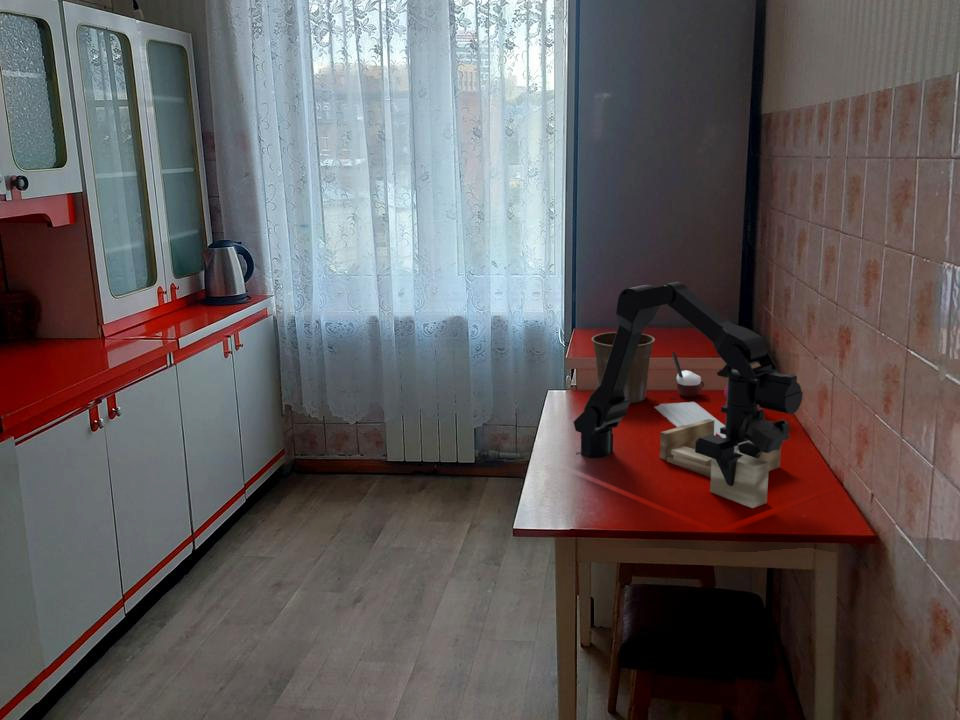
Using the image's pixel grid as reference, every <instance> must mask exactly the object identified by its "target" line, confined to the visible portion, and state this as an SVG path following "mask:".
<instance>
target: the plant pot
mask: <svg viewBox="0 0 960 720" xmlns="http://www.w3.org/2000/svg"><path fill="white" fill-rule="evenodd" d="M616 333H617V331H610V332H604V333H603V332H602V333H599V334H596V335H594V336H592V337H591V342H592V343H593V350H594V351H593V352H594V355H595V359H596V371H597V381H598V382H597V383H598V387H599V386H600V384H601V381H602V378H603V375H604V371H605V368H606V365H607V362H608V359H609V355H610V352H611V349H612V346H613V343H614V339H615V336H616ZM655 340H656V339H655V337H653V336H652V335H650V334H646V333H642V334H641V337H640V340H639V343H638V346H637V349H636V353H635V356H634V359H633V362H632V365H631V368H630V371H629V374H628V377H627V380H626V383H625V386H624V390H623V391H624V394H625V398H626V399H628V400H630V404H634V403H640V402H642V401H644V400H645V399H646V397H647V386H648V377H649V369H650V362H651V361H650V360H651V356H652V355H653V354H652V353H653V352H652V351H653V345H654V343H655Z"/></svg>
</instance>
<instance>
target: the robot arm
mask: <svg viewBox="0 0 960 720" xmlns="http://www.w3.org/2000/svg"><path fill="white" fill-rule="evenodd" d="M664 305H666V306H668V307H669V308H670V309H672V310H673V311H674V312H676V314H678V315H679V316H680V317H682V318H683V319H684V320H686V321H687V322H688V323H689V324H690V325H691V326H692V327H694V328H695V329H696V330H698V331H699V332H700V333H701V334H702V335H704V336H705V337H706V338H707V339H708V340H709V341H710V342H711V343H712V344H713V345H714V349H715V351H716V354H717V355H718V356H719V357H720V358H721V359H722V360H723V362H724V363H725V366H724V367H722V369H720V370H719V371H717V372H716V375H717V376H718V377H722V378H727V382H726V384H727V398H726V401H725V405H722V406H721V408H720V413H723V414H725V422H724V423H725V424H724V425H725V427H722V428H720V433H721V434H724V435H726V438H722V437H721V436H720V435H719V436H718V435H717V434H716V435H713V434H711V435H708V436H704V437H701V438H699V439H697V440H696V441H695V452H696V453H699V454H702V455H705V456H707V457H710V458H713V459H715V460H716V461H717V463H718V465H719V467H720V470H721V472H722V474H723V476H724V478H725V481H726V483H727V485H729V486H733V483H734V479H735V470H736V462H737V460H738V459H740V458H741V457H742V456H743V455H741V454H738V453H737V448H738V447H739V452H740V453H743V454H746V455H749V456H752V457H755V458H758V459H759V457H760V455H761V453H762V452H764V453H770V452H771V451H774V450H779V449H780V448H781V449H782V445H783V443H784V442H785V441H788V440H789V439H790V422H788V421H787V420H786V419H784V418H782V419H779V420H777V421H775V422H774V420H770V421H769V420H767V419H765V413H766V412H765V411H764V409H765V410H770V411H774V412H779V413H783V414H786V415H787V414H788V415H794V414H795V413H796V412H797V411H798V410H799V408H800V406H801V403H802V399H803V394H804V393H803V391H802V387H801V385H800V383H798V381H797V379H798V377H797V375H795V374H790V373H789V374H784V373H779V368H778V366H777V364H776V363H775V361H774V358H773V357H772V356H771V354H770V352H769V350H768V349H767V342H766V340H765V339H764V337H762V336H761V335H759V334H757V333H756V332H754V331H753V330H751V329H749V328H747V327H744V326H741V325H739V324H738V325H737V324H736V323H735V324H734V323H733V322H731V321H729V320H728V319H727V318H726V317H724V316H723V315H721V314H720V313H719V312H718V311H716V310H715V309H714V308H712V307H711V306H710V305H708V303H707V302H705V301H704V300H702V299H701V297H699V296H698V295H696V294H695V293H693V292H692V291H691V290H690V289H689V288H688V287H687V285H686V284H685V283H684V282H681V281H675V282H670V283H664V284H663V285H661V286H657V287H655V286H653V285H651V284H645V285H638V286H634V287H628V288H627V287H626V289H622V290H621V291H620V292H619V294H618V296H617V302H616V308H615V309H616V310H615V315H616V318H617V323H618V326H617V330H616V332H617V333H616V336H615V339H614V343H613V346H612V349H611V352H610V355H609V359H608V362H607V365H606V368H605V371H604V375H603V378H602V381H601V384H600V386H598V387H597V388H596V389H595V390H594V391H593V392H592V394H591V395H590V396H589V398H588V400H587V401H586V403H585V405H584V409H583V412H582V413H580V415H579V416H578V417H577V418H575V420H574V421H573V427H574V429H575V431H576V432H578V433H580V451H578V452H575V455H577V456H578V455H582V456H584V457H586V458H589V459H594V458H597V459H599V458H600V459H601V458H606V457H608V456H610V454H612V453H613V452H614V433H613V429H614V428H618V427H619V424H620V422H621V420H623V418H624V417H627V413H628V412H627V411H628V408H629V405H630V404H631V403H630V400H628V399H626V398H625V394H624V391H623V390H624V386H625V383H626V380H627V377H628V374H629V371H630V368H631V365H632V362H633V359H634V356H635V353H636V349H637V346H638V343H639V340H640V337H641V334H643V331H644V329H646V328H647V326H648V325H649V324H650V323H651V322H652V321H653V320H654V318H655V316H656V314H657V313H658V310H659V308H660V307H661V306H664ZM756 365H759V366H757V367H753V366H756Z"/></svg>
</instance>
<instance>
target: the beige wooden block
mask: <svg viewBox="0 0 960 720" xmlns="http://www.w3.org/2000/svg"><path fill="white" fill-rule="evenodd" d="M737 453H738V454H741V455H743V456H742V457H741V458H740V459H738V460H737V462H736V470H735V479H734V483H733V486H729V485H727V483H726V481H725V478H724V476H723V474H722V472H721V470H720V467H719V465H718V463H717V461H716V460H715V459H713V458H712V461H711V477H710V486H709V487H710V488H709V492H710V493H713V494H715V495H716V496H717V495H718V496H719V497H722V498H725V499H727V500H729V501H730V500H731V501H732V502H735V503H738V504H741V505H742V506H746V507H749V508H751V509H755V508H757V507H760V506H763V505H765V504H767V502H768V489H769V488H768V485H769V472H770V471H769V462H767V461H764V460H761V459H758V458H755V457H752V456H749V455H746V454H743V453H740V452H737Z"/></svg>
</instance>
